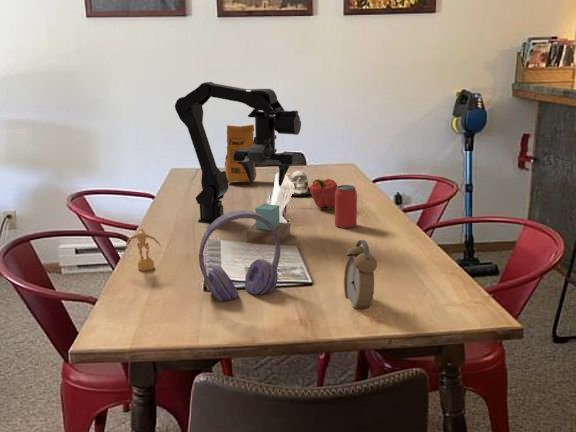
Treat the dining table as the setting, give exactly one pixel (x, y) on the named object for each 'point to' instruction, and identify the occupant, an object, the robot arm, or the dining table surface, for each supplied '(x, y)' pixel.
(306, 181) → the skull
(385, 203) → the dining table surface
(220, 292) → the headphones
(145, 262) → the figurine
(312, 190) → the vegetable
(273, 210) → the teal block
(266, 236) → the walnut block
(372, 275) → the alarm clock
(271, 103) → the robot arm
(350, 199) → the beer can
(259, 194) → the dining table surface
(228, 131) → the coffee package
